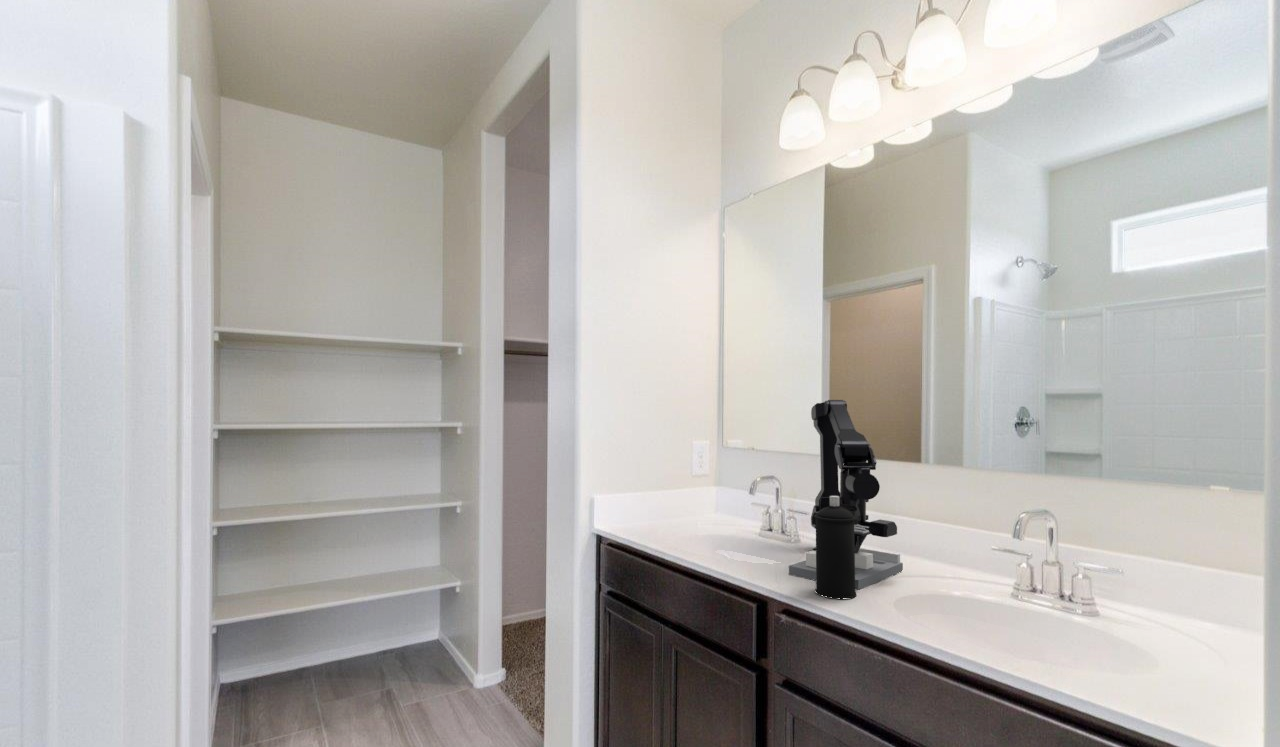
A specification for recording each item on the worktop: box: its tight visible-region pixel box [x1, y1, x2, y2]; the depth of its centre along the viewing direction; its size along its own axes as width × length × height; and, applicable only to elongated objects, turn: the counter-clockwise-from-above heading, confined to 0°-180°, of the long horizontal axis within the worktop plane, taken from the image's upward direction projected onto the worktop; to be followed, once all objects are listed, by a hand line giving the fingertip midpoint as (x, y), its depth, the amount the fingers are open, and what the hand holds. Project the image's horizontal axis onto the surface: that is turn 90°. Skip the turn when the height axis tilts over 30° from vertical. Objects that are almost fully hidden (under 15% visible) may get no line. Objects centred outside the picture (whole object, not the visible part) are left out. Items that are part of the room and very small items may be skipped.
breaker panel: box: [788, 546, 904, 591], centre depth 147 cm, size 22×17×4 cm
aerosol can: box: [814, 496, 857, 600], centre depth 131 cm, size 8×8×20 cm
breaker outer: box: [805, 550, 816, 568], centre depth 145 cm, size 3×3×3 cm
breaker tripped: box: [855, 552, 873, 570], centre depth 144 cm, size 3×3×3 cm
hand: (852, 560), depth 146 cm, fingers closed
